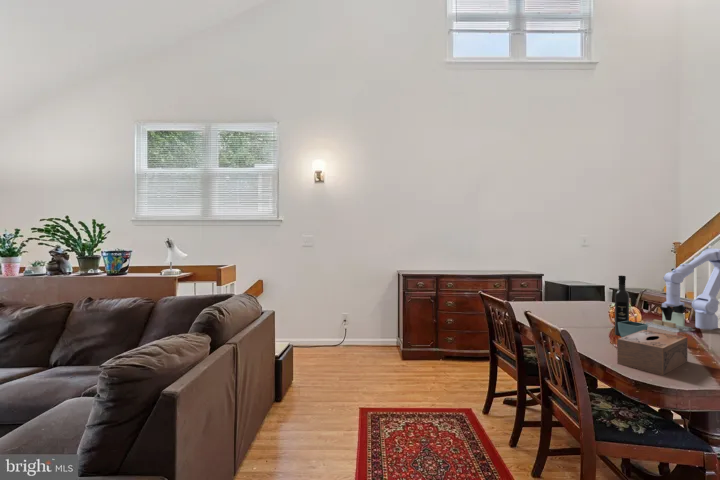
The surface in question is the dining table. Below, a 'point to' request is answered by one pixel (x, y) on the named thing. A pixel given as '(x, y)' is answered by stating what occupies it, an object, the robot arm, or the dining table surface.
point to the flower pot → (630, 327)
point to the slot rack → (677, 329)
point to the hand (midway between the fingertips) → (673, 319)
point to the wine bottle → (621, 304)
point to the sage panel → (676, 319)
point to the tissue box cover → (652, 351)
